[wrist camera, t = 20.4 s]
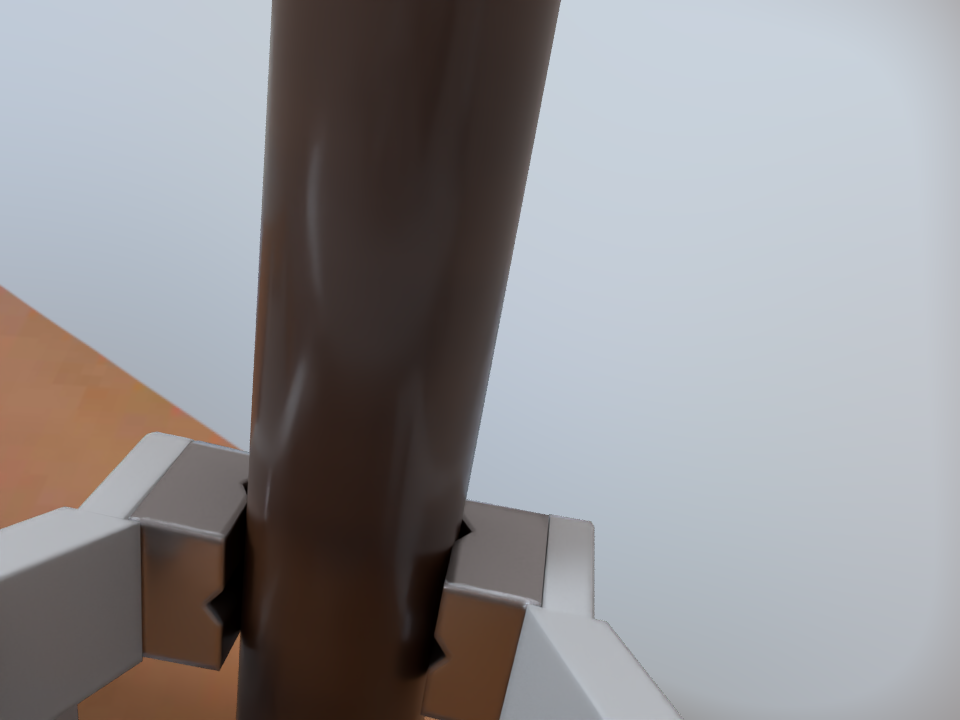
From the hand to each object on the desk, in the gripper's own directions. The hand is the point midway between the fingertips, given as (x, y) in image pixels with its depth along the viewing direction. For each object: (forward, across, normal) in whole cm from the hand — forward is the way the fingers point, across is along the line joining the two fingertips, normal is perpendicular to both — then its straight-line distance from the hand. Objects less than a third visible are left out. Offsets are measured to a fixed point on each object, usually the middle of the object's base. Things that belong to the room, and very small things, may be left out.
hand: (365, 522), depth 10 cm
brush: (-1, 0, +10) cm, 10 cm away
